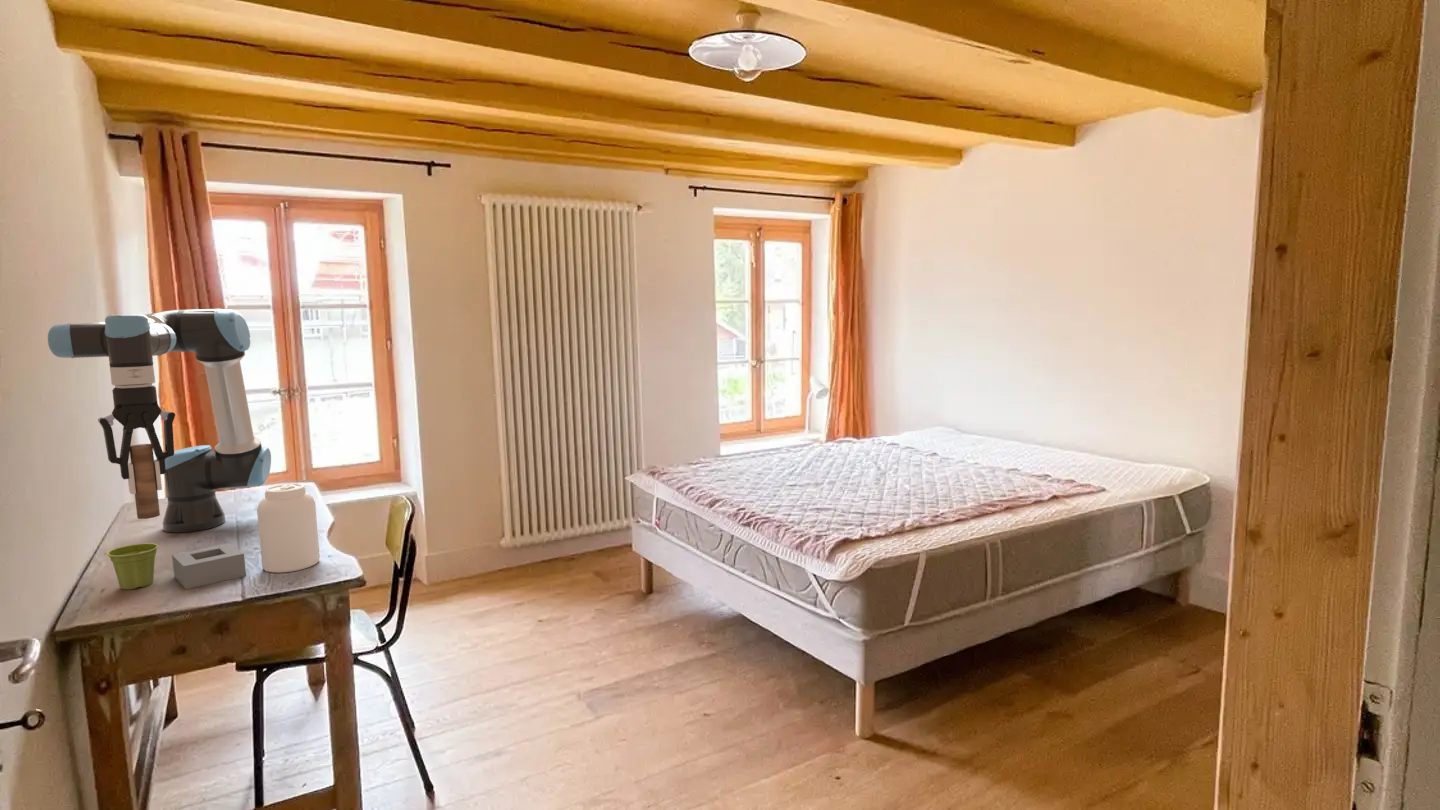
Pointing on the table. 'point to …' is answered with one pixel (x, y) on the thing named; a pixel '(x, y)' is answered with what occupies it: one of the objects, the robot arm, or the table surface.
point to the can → (288, 529)
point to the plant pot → (134, 564)
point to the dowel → (144, 481)
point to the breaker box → (208, 565)
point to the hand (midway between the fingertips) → (145, 490)
